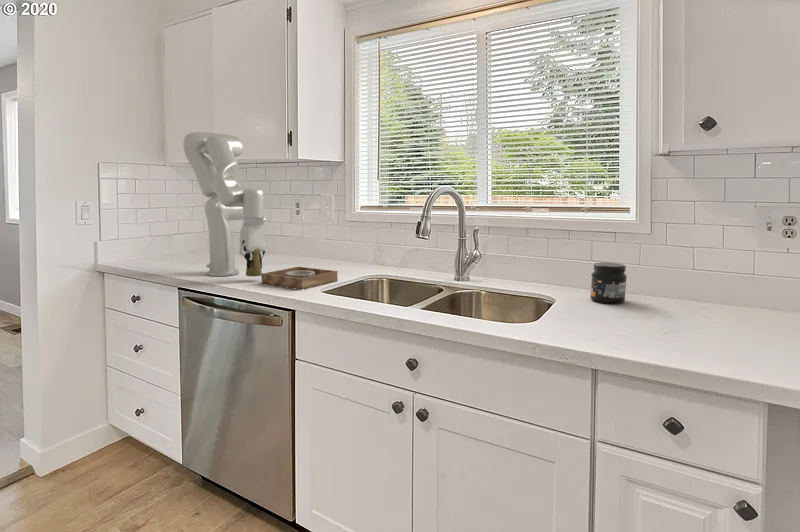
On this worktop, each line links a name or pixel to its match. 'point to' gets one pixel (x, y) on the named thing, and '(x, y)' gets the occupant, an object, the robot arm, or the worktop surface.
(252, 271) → the cork
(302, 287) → the box
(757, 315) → the worktop surface
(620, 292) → the supplement container
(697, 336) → the worktop surface
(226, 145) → the robot arm
